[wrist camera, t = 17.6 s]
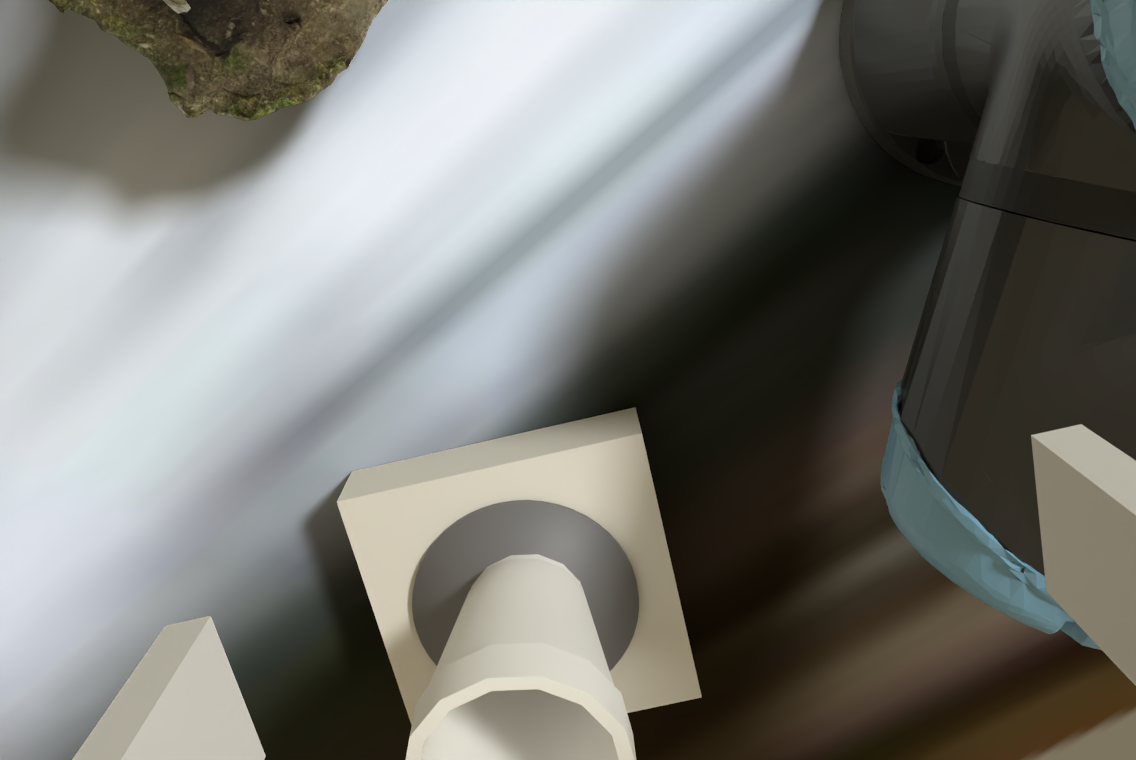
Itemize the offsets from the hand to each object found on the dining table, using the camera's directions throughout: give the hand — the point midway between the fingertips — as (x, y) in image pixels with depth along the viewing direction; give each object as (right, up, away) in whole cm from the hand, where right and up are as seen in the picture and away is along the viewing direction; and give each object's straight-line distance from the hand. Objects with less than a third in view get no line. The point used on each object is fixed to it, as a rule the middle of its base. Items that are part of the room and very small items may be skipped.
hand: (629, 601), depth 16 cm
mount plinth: (-3, -7, +41) cm, 41 cm away
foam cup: (-3, -8, +37) cm, 38 cm away
